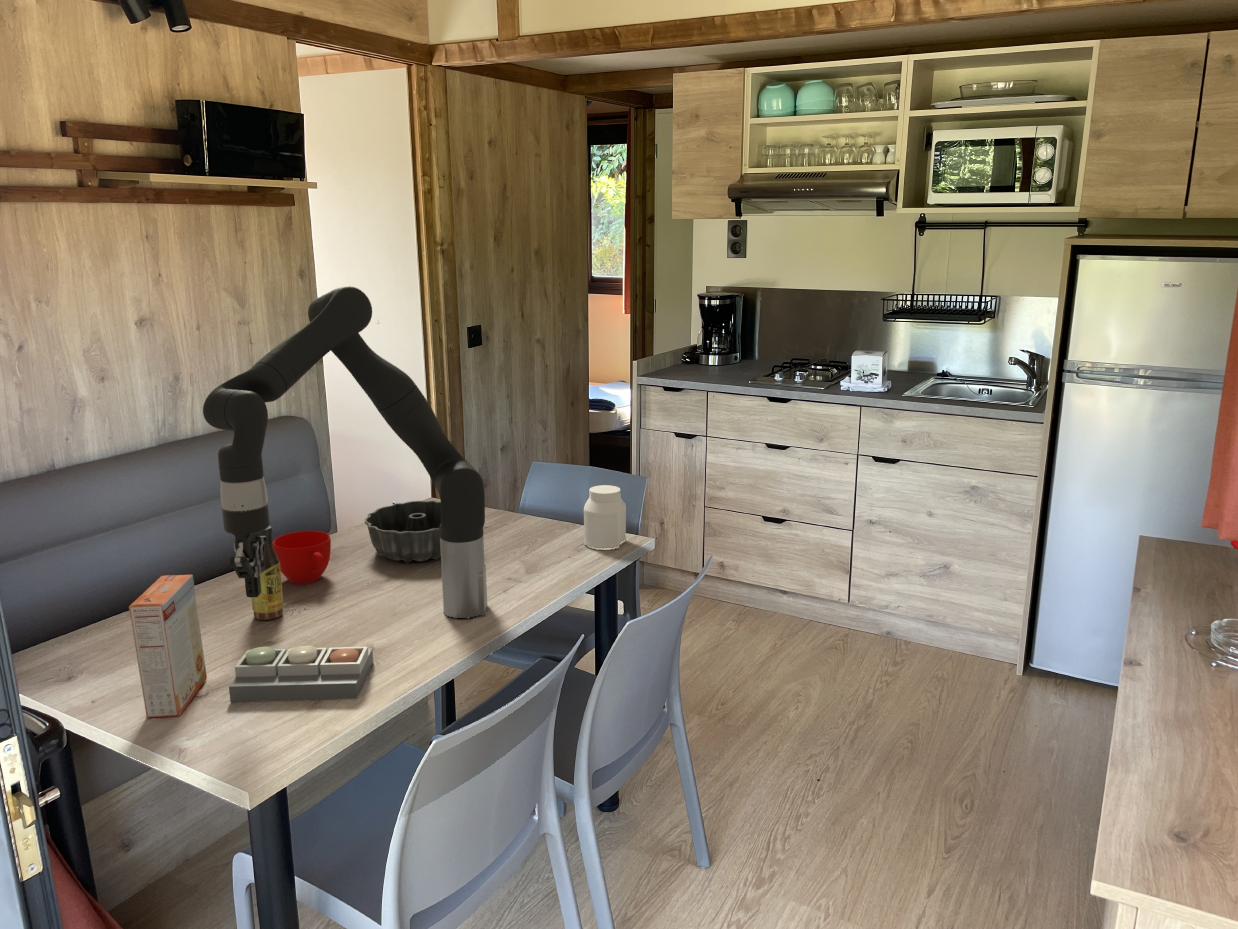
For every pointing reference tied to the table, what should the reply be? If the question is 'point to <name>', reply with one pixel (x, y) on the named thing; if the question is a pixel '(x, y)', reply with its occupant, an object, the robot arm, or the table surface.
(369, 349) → the robot arm
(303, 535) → the ceramic cup
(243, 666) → the button panel
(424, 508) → the bundt pan
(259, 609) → the sauce bottle
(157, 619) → the cracker box
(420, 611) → the table surface
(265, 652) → the sage button
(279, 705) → the table surface
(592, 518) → the jar
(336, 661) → the terracotta button
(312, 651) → the cream button
